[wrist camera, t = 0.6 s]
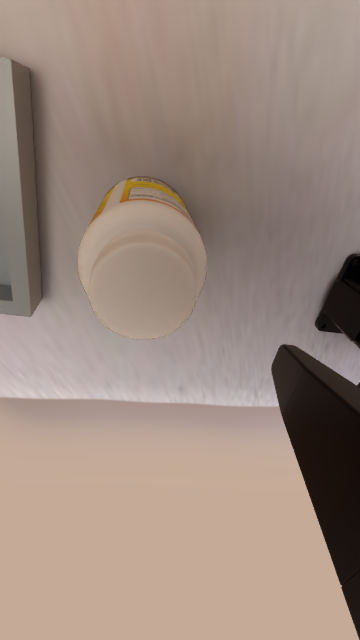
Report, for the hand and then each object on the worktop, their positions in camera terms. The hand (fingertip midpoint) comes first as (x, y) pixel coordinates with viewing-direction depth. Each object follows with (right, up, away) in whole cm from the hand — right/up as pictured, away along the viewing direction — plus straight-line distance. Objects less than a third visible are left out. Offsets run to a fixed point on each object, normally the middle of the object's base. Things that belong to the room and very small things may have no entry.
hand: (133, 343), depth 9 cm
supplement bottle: (-1, +7, +11) cm, 13 cm away
